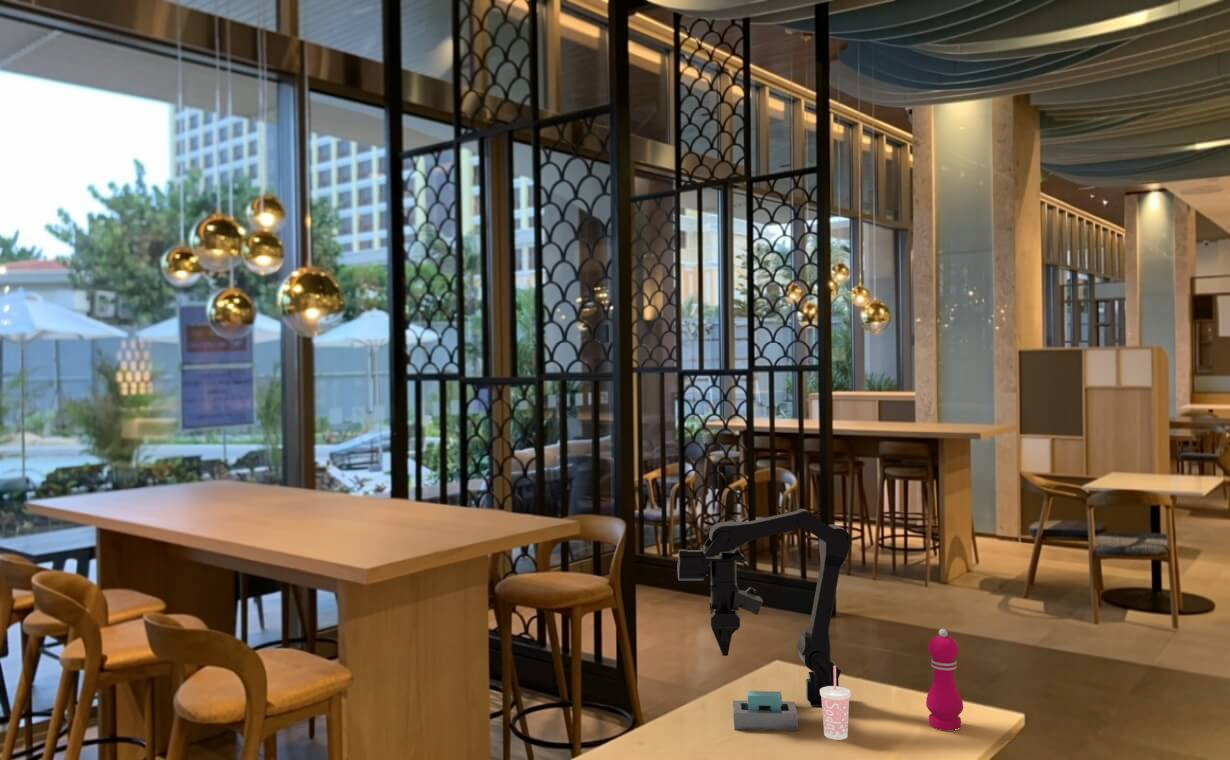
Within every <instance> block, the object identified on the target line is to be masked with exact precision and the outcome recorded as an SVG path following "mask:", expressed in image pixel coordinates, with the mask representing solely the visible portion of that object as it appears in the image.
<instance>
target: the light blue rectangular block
mask: <svg viewBox="0 0 1230 760" xmlns="http://www.w3.org/2000/svg"><path fill="white" fill-rule="evenodd" d="M746 694H747V695H746V696H747V697H746V698H747V700H746V701H748V709H749V710H759V705H762V706H770V711H781V706H782V701H783V698H782V697H783V696H782V692H781V691H775V690H774V691H773V690H772V691H771V690H769V691H768V690H766V691H765V690H747V692H746Z"/></svg>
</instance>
